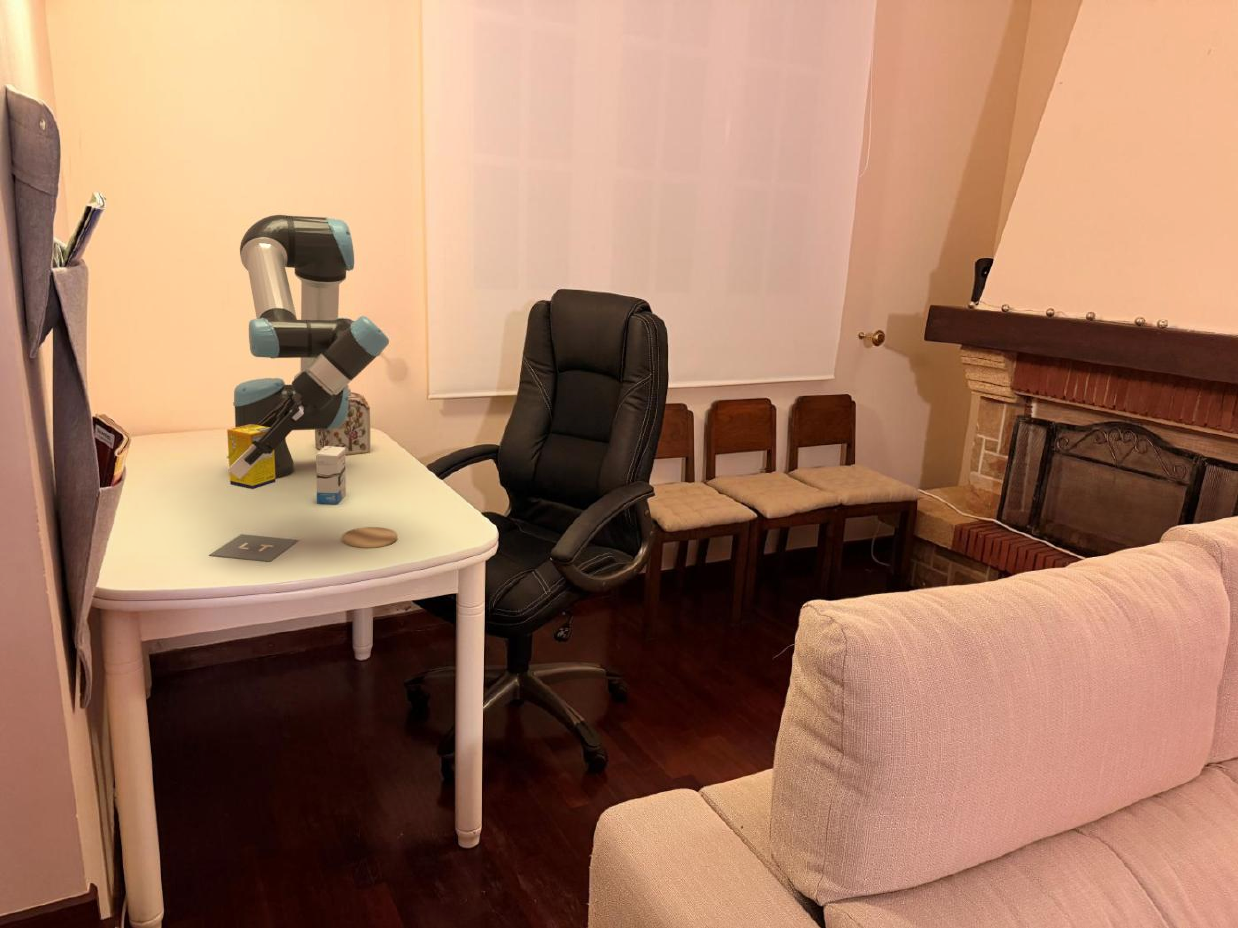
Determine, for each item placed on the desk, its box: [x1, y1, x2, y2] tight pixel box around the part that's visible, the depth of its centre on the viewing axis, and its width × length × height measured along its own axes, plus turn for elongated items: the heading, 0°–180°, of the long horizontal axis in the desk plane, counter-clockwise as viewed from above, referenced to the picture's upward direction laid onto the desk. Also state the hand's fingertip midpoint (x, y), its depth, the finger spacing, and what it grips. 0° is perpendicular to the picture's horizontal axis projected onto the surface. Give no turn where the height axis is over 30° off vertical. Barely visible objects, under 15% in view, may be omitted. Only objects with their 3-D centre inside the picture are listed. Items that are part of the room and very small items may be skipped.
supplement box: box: [226, 424, 276, 490], centre depth 165 cm, size 6×6×11 cm
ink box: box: [315, 446, 347, 505], centre depth 201 cm, size 8×5×12 cm, turn 4°
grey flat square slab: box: [208, 533, 299, 563], centre depth 169 cm, size 12×12×1 cm
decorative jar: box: [314, 387, 371, 456], centre depth 242 cm, size 12×12×18 cm
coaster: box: [341, 526, 399, 549], centre depth 179 cm, size 11×11×1 cm
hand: (233, 467), depth 164 cm, fingers closed on supplement box, 8 cm apart
